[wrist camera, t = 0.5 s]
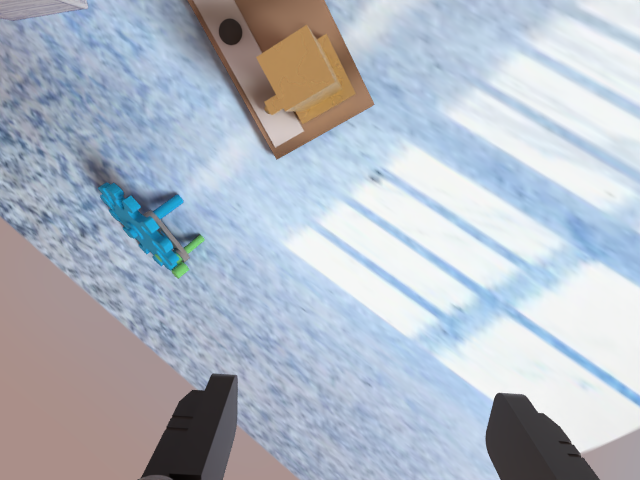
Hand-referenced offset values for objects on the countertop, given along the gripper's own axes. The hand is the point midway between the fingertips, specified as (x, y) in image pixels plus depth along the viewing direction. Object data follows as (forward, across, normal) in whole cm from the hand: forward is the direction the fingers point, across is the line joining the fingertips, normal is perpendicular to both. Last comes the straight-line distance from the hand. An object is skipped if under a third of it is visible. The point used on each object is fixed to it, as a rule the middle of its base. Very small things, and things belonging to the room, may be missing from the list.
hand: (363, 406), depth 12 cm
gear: (+30, +18, +4) cm, 35 cm away
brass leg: (+26, +4, -10) cm, 29 cm away
